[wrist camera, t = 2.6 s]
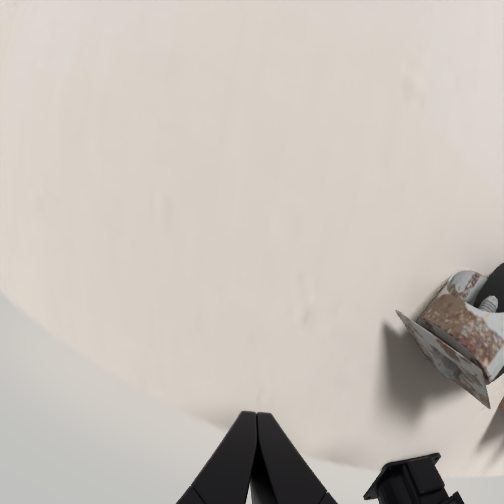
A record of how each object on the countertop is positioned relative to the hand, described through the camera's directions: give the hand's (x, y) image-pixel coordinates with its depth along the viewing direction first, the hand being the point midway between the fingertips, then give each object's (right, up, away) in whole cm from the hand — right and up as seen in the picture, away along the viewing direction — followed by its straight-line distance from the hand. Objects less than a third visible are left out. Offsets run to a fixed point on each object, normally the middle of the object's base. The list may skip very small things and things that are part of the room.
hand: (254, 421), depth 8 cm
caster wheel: (+15, +1, +9) cm, 18 cm away
